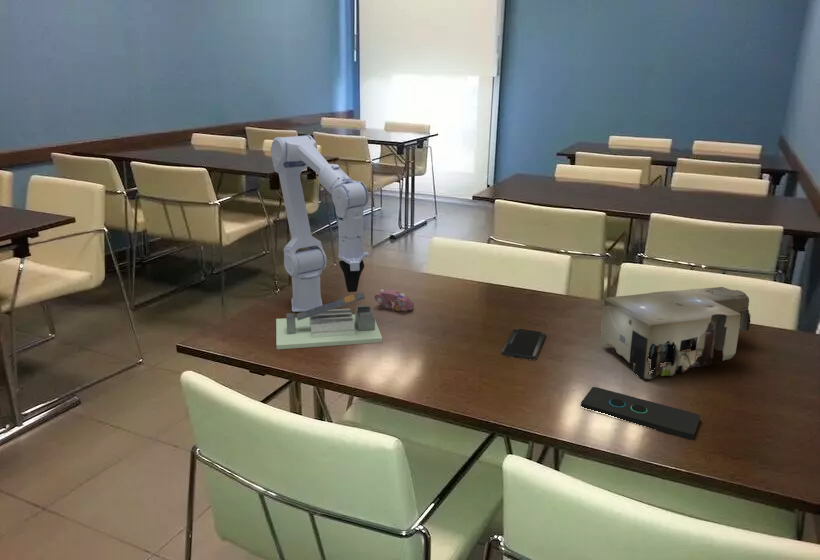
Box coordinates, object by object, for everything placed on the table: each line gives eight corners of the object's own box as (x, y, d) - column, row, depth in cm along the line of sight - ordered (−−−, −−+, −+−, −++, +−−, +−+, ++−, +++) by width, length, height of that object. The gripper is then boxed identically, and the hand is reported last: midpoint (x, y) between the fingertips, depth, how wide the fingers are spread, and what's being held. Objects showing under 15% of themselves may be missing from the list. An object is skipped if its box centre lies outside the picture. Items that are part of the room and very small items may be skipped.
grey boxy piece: (775, 364, 140) (784, 306, 136) (644, 383, 131) (651, 321, 128) (715, 334, 157) (723, 282, 153) (596, 349, 148) (601, 294, 145)
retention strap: (297, 315, 153) (296, 312, 152) (363, 294, 154) (362, 291, 154) (297, 320, 150) (296, 317, 150) (365, 298, 151) (364, 295, 151)
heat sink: (309, 321, 157) (309, 309, 156) (350, 318, 159) (350, 307, 158) (311, 337, 148) (311, 325, 147) (354, 334, 150) (354, 322, 149)
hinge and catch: (286, 325, 155) (286, 309, 153) (371, 320, 159) (371, 304, 157) (287, 335, 149) (286, 319, 148) (374, 330, 153) (374, 313, 151)
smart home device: (593, 385, 128) (701, 413, 118) (592, 392, 128) (699, 422, 118) (580, 402, 121) (693, 434, 111) (579, 410, 121) (692, 443, 111)
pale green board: (276, 322, 159) (276, 318, 159) (372, 316, 164) (372, 313, 163) (276, 349, 144) (276, 345, 144) (382, 342, 149) (382, 338, 148)
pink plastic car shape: (376, 312, 171) (370, 293, 166) (384, 300, 174) (378, 281, 169) (409, 319, 167) (403, 300, 162) (416, 306, 169) (411, 288, 165)
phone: (546, 332, 153) (535, 357, 140) (546, 337, 154) (535, 362, 140) (513, 328, 156) (500, 352, 143) (513, 332, 156) (499, 356, 143)
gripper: (372, 242, 141) (373, 300, 146) (364, 227, 155) (364, 280, 159) (340, 244, 140) (342, 302, 144) (334, 228, 154) (336, 281, 158)
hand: (352, 291), depth 152 cm, fingers closed
